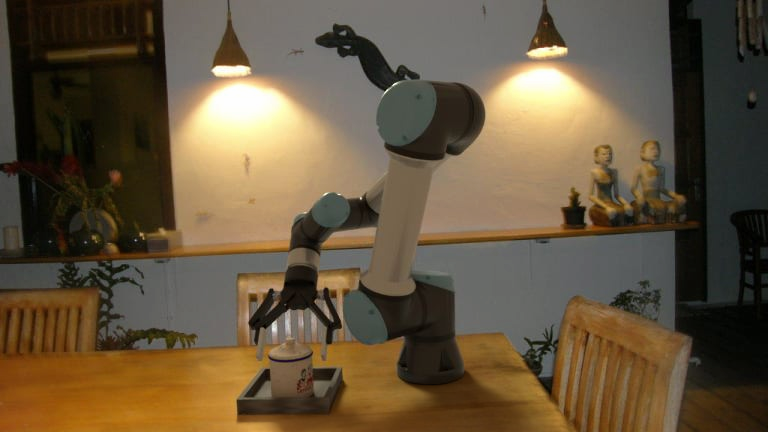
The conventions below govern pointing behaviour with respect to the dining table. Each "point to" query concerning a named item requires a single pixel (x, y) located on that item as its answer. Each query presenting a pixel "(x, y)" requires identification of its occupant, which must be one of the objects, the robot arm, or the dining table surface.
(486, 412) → the dining table surface
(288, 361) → the teacup with lid
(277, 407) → the tea tray
